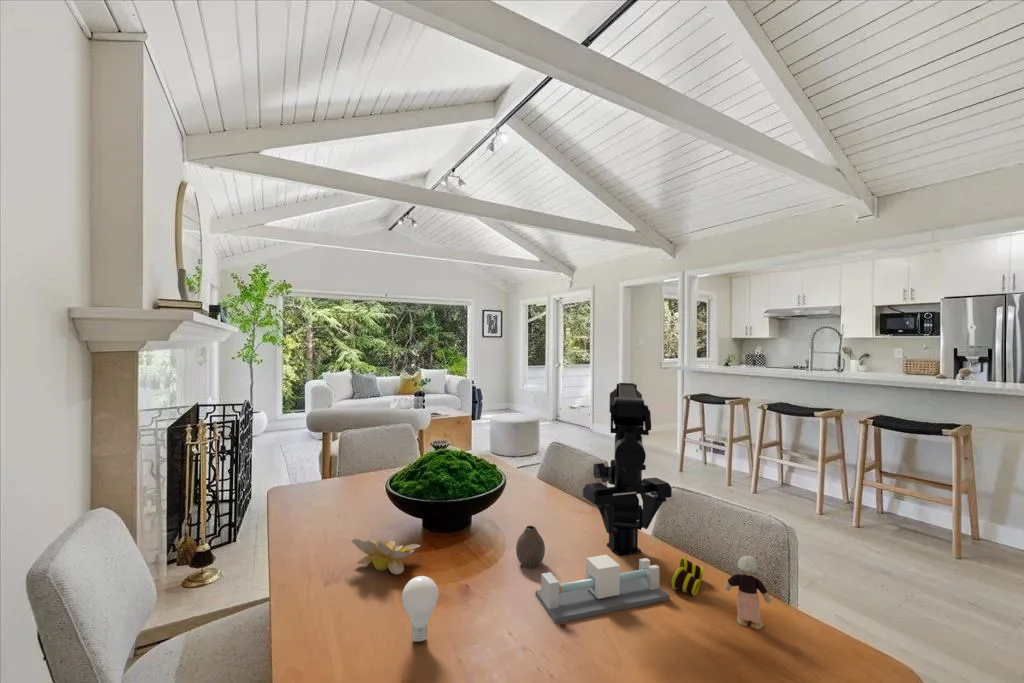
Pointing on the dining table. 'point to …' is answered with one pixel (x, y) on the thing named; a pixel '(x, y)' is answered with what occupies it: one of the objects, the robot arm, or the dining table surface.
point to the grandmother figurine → (748, 593)
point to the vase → (530, 548)
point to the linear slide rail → (582, 603)
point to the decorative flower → (384, 554)
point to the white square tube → (603, 575)
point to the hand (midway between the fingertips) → (627, 530)
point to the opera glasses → (687, 577)
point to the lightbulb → (419, 604)
